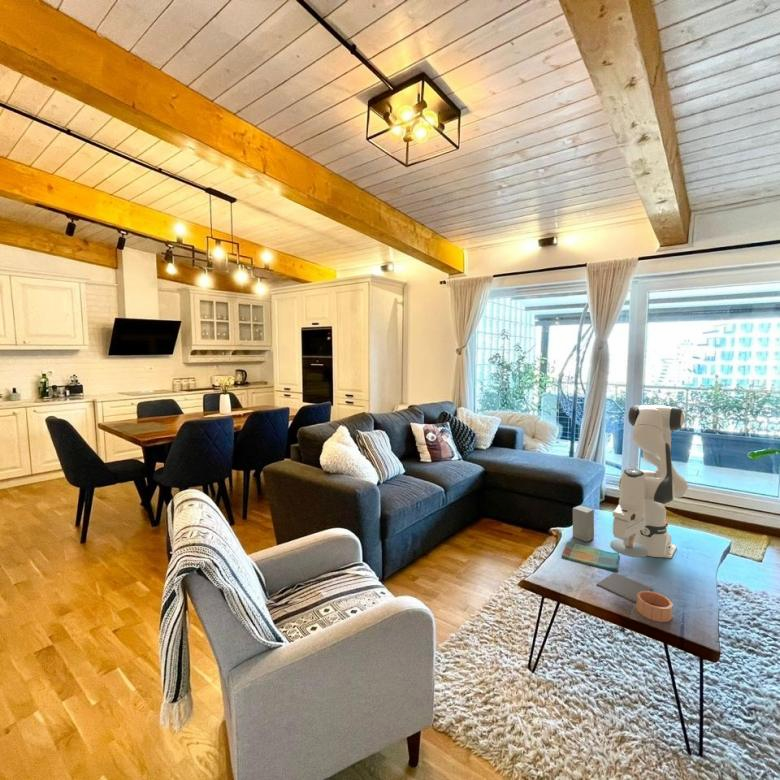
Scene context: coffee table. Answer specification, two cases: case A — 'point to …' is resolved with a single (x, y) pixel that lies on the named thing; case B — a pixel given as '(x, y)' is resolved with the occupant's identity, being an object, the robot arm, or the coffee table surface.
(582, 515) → the skincare box
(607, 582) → the mat
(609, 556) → the dish towel
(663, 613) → the bowl
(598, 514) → the coffee table surface
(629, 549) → the lid
